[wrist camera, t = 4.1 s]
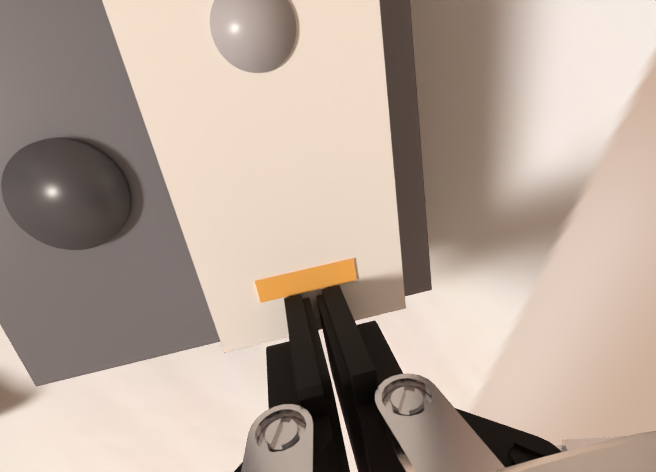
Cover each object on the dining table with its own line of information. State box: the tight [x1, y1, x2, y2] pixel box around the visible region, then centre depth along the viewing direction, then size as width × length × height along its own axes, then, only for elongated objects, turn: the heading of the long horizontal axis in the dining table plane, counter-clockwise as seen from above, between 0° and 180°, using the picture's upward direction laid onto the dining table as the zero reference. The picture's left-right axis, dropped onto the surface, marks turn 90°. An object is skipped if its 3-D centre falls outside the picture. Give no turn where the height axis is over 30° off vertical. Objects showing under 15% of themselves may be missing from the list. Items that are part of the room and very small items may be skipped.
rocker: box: [102, 0, 406, 353], centre depth 11 cm, size 10×6×1 cm, turn 9°
